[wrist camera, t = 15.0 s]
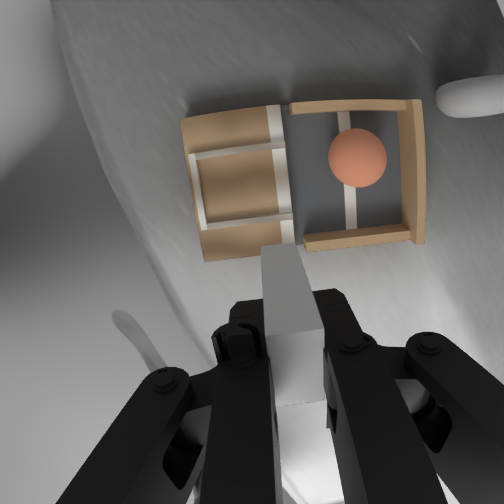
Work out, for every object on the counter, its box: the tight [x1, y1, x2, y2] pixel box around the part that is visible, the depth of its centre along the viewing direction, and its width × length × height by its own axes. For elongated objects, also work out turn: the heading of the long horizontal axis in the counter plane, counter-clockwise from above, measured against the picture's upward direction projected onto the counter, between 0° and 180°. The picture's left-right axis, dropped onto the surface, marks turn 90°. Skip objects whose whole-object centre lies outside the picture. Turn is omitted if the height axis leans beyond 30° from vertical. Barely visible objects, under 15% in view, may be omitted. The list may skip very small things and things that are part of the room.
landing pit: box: [280, 99, 426, 252], centre depth 29 cm, size 14×13×4 cm
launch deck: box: [180, 104, 295, 262], centre depth 30 cm, size 14×9×3 cm, turn 7°
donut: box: [435, 75, 504, 118], centre depth 22 cm, size 10×4×10 cm, turn 113°
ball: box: [328, 128, 387, 187], centre depth 27 cm, size 5×5×5 cm
